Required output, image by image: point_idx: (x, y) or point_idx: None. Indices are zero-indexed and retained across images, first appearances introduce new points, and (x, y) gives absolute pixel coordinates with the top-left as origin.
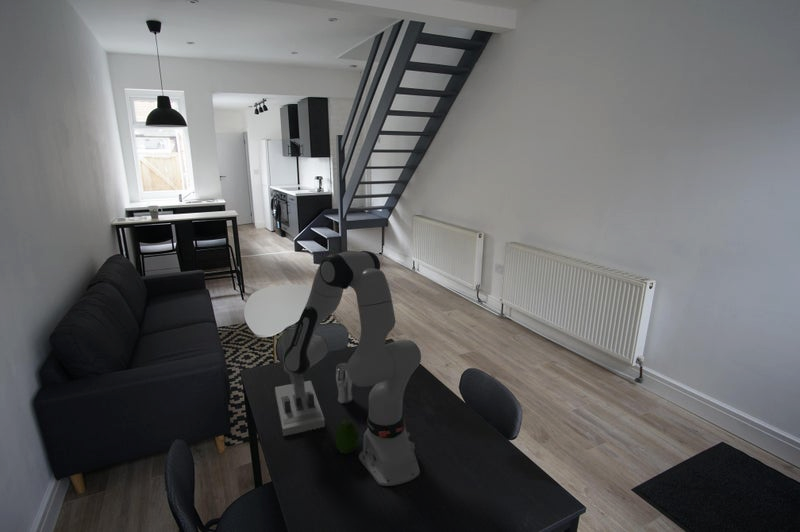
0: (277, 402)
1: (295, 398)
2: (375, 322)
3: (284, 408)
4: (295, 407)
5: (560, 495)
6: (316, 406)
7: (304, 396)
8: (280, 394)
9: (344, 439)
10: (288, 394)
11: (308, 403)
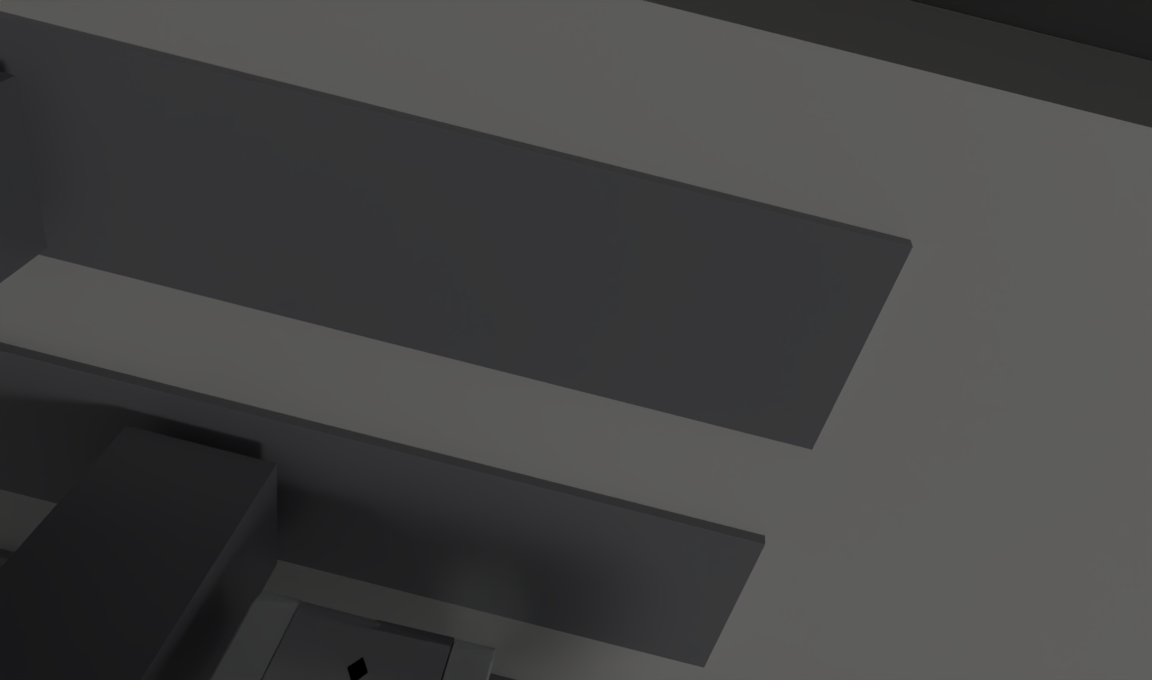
0: (832, 17)
1: (148, 574)
2: None
3: (76, 72)
4: (79, 359)
5: None
6: None
7: (514, 676)
8: (1132, 297)
9: None
10: (898, 480)
11: None
